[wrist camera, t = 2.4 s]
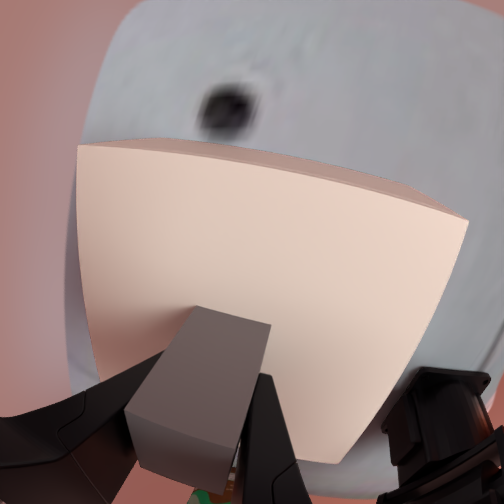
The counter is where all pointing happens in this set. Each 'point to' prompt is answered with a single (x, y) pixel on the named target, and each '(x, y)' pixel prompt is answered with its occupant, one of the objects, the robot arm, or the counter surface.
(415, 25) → the counter surface
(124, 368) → the lid
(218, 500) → the food container
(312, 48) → the counter surface
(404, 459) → the robot arm
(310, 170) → the carton
